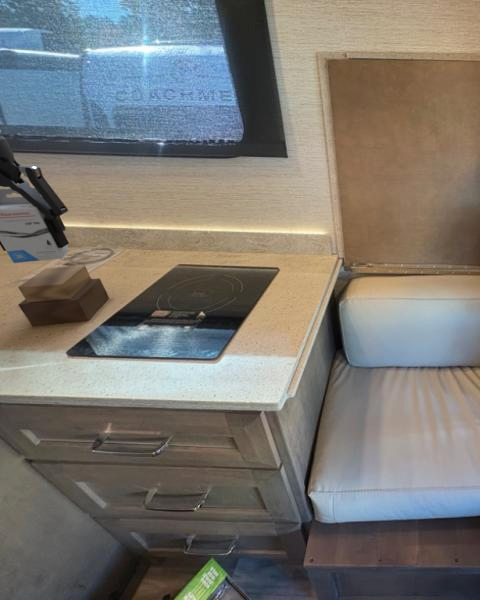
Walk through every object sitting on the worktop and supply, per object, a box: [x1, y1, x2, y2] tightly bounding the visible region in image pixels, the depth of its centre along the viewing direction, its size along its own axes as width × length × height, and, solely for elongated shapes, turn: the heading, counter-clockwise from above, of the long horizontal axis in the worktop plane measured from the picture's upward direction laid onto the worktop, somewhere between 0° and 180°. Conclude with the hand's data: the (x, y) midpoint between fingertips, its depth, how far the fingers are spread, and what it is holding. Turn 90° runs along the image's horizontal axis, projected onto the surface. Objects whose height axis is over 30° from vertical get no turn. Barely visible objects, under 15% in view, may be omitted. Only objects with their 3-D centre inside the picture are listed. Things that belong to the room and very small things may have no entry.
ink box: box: [0, 187, 70, 264], centre depth 71 cm, size 8×5×15 cm, turn 115°
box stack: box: [17, 265, 110, 327], centre depth 80 cm, size 11×11×10 cm
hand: (37, 246), depth 74 cm, fingers closed on ink box, 9 cm apart
